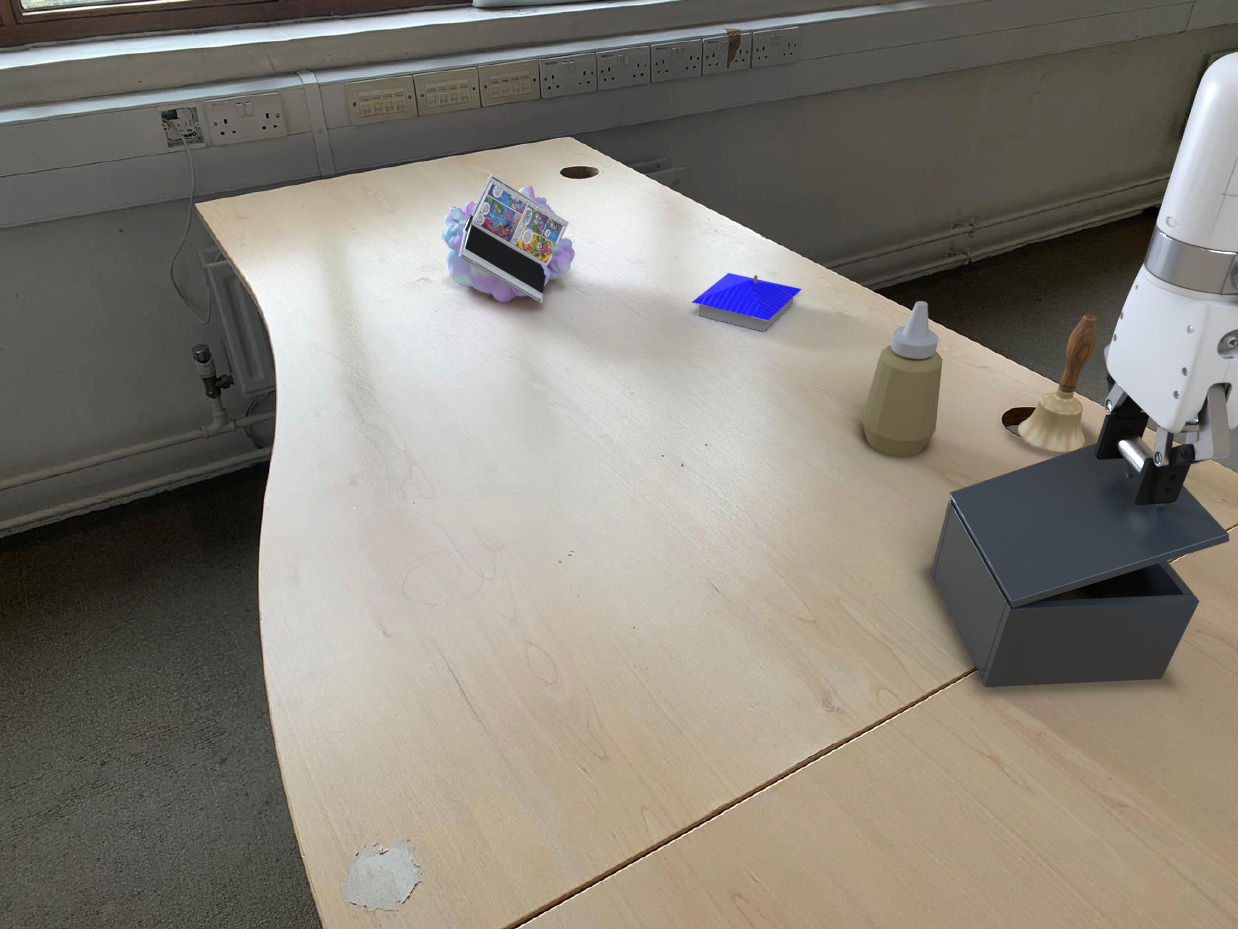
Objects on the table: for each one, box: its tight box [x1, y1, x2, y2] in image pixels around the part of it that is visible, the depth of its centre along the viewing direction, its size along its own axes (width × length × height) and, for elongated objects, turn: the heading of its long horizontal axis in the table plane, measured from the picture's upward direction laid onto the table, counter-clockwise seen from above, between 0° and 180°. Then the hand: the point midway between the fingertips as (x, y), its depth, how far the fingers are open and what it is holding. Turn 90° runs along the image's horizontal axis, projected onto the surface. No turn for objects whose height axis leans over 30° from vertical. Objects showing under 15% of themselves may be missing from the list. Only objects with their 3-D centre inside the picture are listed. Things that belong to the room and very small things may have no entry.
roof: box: [691, 272, 802, 332], centre depth 131 cm, size 12×12×5 cm
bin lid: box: [948, 430, 1230, 608], centre depth 70 cm, size 16×14×5 cm
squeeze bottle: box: [861, 300, 943, 458], centre depth 98 cm, size 8×8×18 cm
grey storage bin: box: [930, 499, 1200, 688], centre depth 76 cm, size 15×14×10 cm
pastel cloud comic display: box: [440, 173, 576, 304], centre depth 137 cm, size 20×22×18 cm
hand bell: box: [1017, 313, 1098, 453], centre depth 99 cm, size 8×8×16 cm
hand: (1133, 476), depth 70 cm, fingers closed on bin lid, 5 cm apart
